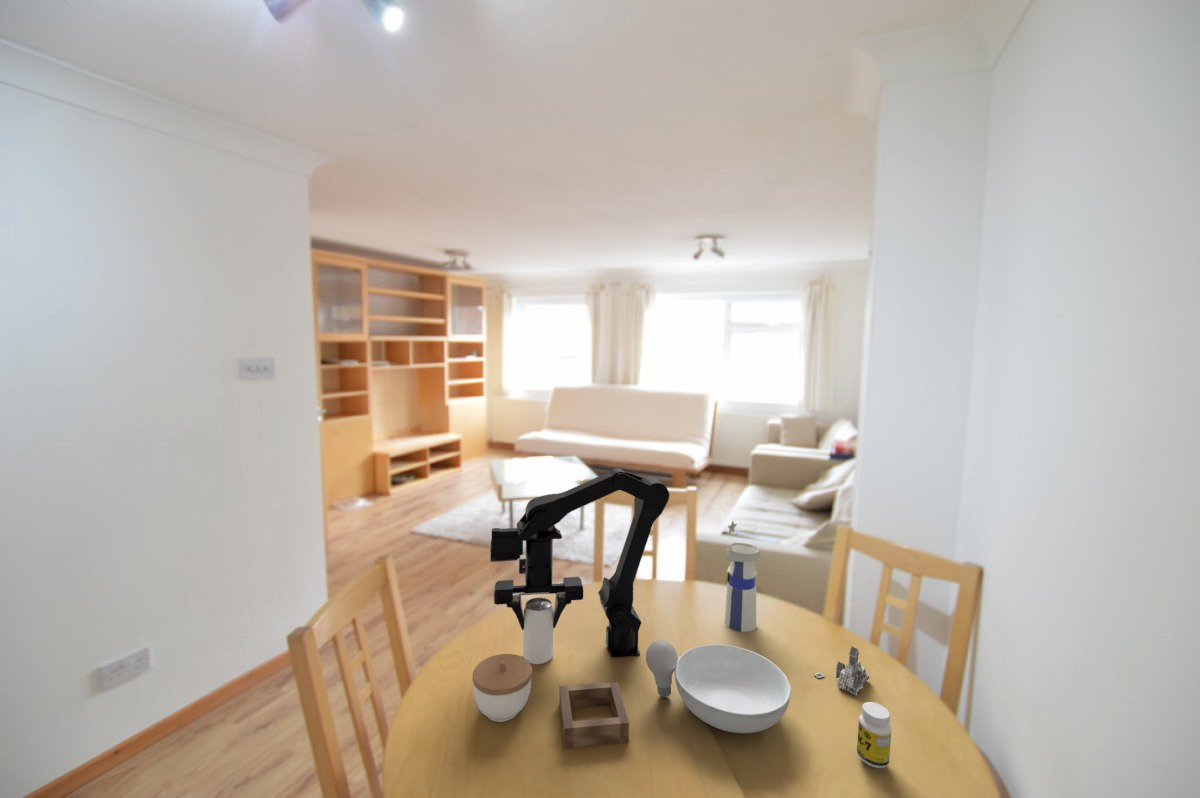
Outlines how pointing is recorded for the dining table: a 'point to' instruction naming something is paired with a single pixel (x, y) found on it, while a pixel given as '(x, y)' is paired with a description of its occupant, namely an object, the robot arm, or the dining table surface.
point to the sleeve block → (597, 728)
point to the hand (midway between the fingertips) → (538, 628)
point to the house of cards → (850, 673)
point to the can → (538, 631)
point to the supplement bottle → (874, 735)
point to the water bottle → (741, 586)
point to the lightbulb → (662, 665)
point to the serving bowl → (732, 688)
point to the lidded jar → (502, 686)
